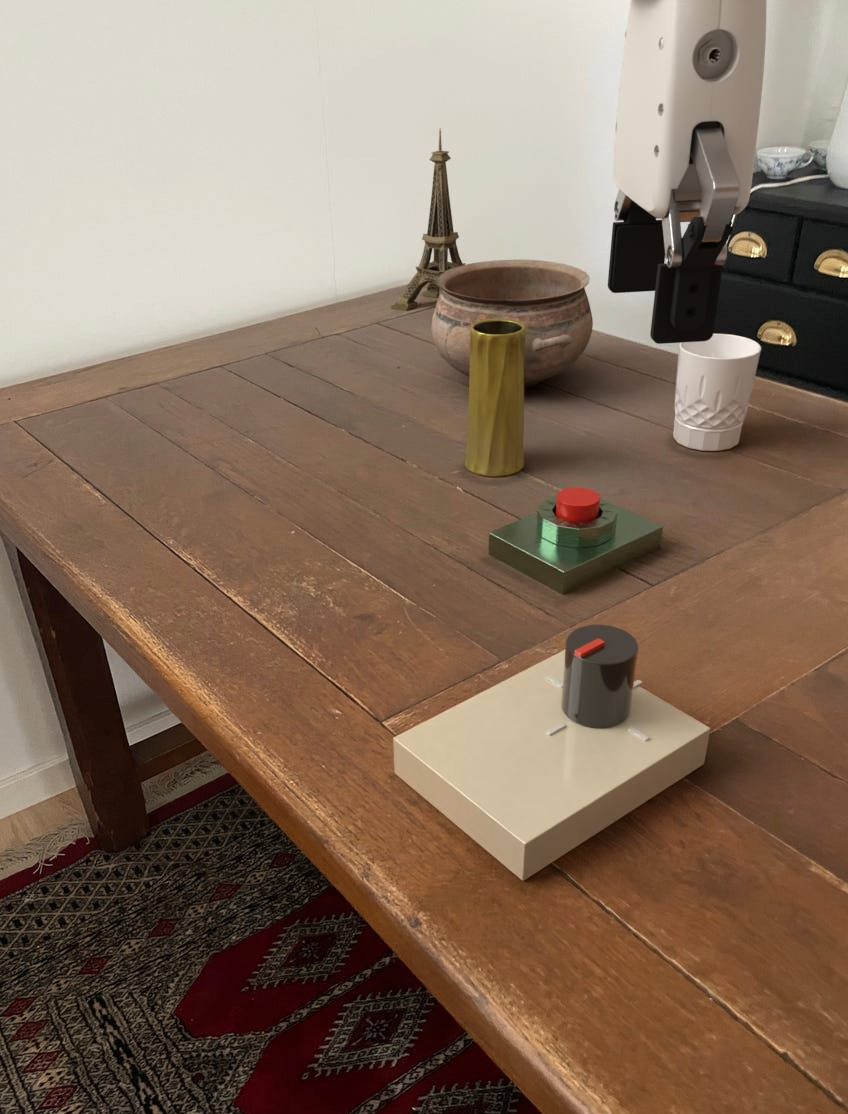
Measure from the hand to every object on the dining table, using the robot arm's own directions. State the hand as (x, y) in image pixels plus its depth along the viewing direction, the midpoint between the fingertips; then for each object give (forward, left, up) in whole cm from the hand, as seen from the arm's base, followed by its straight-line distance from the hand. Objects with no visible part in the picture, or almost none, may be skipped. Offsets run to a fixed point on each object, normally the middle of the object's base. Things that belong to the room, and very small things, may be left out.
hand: (655, 313), depth 59 cm
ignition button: (-12, -16, -23) cm, 30 cm away
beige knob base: (+10, +4, -26) cm, 28 cm away
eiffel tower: (-52, -81, -27) cm, 100 cm away
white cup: (-40, -23, -27) cm, 53 cm away
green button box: (-12, -15, -26) cm, 33 cm away
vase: (-19, -33, -27) cm, 47 cm away
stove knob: (+6, +4, -23) cm, 24 cm away
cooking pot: (-37, -50, -27) cm, 68 cm away
